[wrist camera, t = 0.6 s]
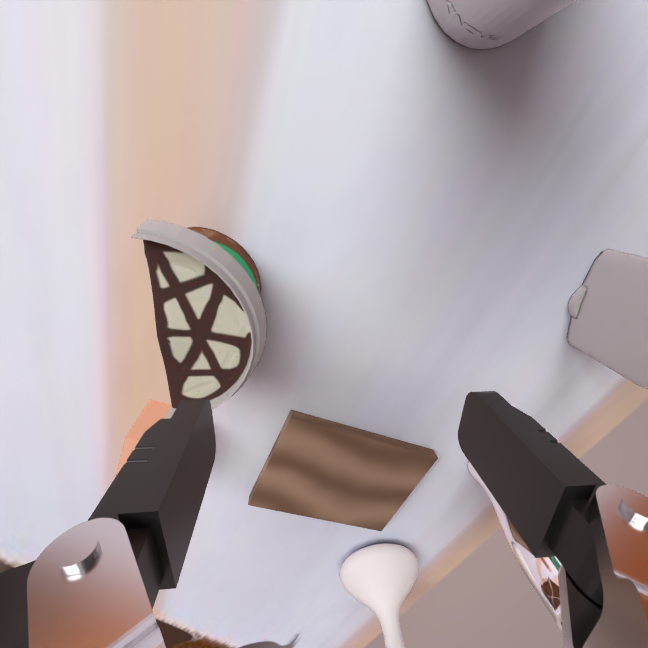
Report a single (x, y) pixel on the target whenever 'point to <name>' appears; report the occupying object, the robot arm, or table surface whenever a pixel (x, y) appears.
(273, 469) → the walnut board
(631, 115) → the table surface
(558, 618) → the beer glass
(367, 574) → the flower in vase
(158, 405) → the terracotta cube
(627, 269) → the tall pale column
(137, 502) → the robot arm
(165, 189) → the table surface
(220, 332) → the food container
